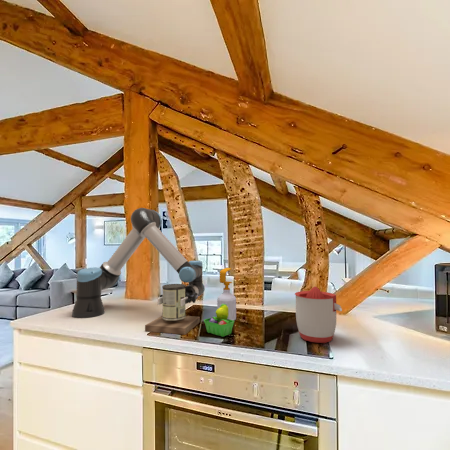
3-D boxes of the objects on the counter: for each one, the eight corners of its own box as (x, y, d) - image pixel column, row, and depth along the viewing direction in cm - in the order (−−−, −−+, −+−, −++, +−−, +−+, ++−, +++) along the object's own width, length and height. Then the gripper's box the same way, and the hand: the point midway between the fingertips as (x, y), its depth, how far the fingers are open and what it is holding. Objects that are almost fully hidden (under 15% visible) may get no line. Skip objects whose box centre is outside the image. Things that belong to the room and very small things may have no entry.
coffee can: (166, 314, 131) (166, 283, 132) (187, 314, 130) (188, 283, 131) (158, 320, 121) (159, 287, 121) (182, 321, 120) (182, 287, 120)
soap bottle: (239, 319, 136) (239, 268, 138) (226, 323, 130) (226, 269, 132) (227, 315, 143) (227, 266, 144) (213, 319, 137) (213, 268, 138)
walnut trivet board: (144, 331, 118) (145, 325, 119) (164, 319, 136) (164, 314, 136) (185, 334, 114) (185, 328, 114) (199, 322, 132) (199, 316, 132)
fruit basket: (202, 332, 117) (202, 304, 118) (217, 327, 124) (217, 301, 124) (223, 338, 110) (222, 309, 110) (237, 333, 116) (237, 305, 117)
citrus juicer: (339, 349, 98) (338, 291, 99) (290, 341, 107) (289, 287, 108) (345, 336, 112) (343, 285, 113) (301, 329, 120) (300, 282, 121)
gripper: (210, 301, 140) (194, 312, 119) (168, 299, 146) (146, 309, 124) (210, 286, 140) (194, 294, 119) (168, 284, 146) (146, 292, 124)
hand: (169, 302), depth 122 cm, fingers closed on coffee can, 10 cm apart
